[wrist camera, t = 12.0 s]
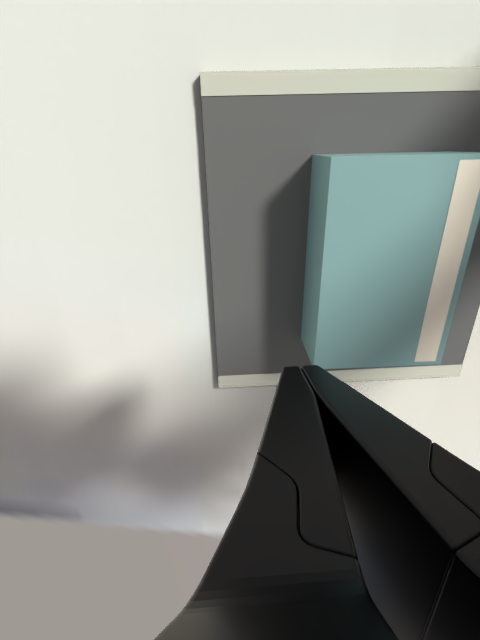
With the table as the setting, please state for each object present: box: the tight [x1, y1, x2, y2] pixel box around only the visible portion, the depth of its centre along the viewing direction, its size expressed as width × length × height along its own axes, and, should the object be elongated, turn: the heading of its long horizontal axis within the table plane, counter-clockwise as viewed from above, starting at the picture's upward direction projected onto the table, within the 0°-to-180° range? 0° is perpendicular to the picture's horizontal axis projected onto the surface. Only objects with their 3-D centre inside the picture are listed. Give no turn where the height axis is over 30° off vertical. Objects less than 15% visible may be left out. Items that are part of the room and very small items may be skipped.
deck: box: [301, 151, 480, 369], centre depth 16 cm, size 3×9×6 cm
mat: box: [200, 67, 480, 388], centre depth 18 cm, size 14×15×1 cm
